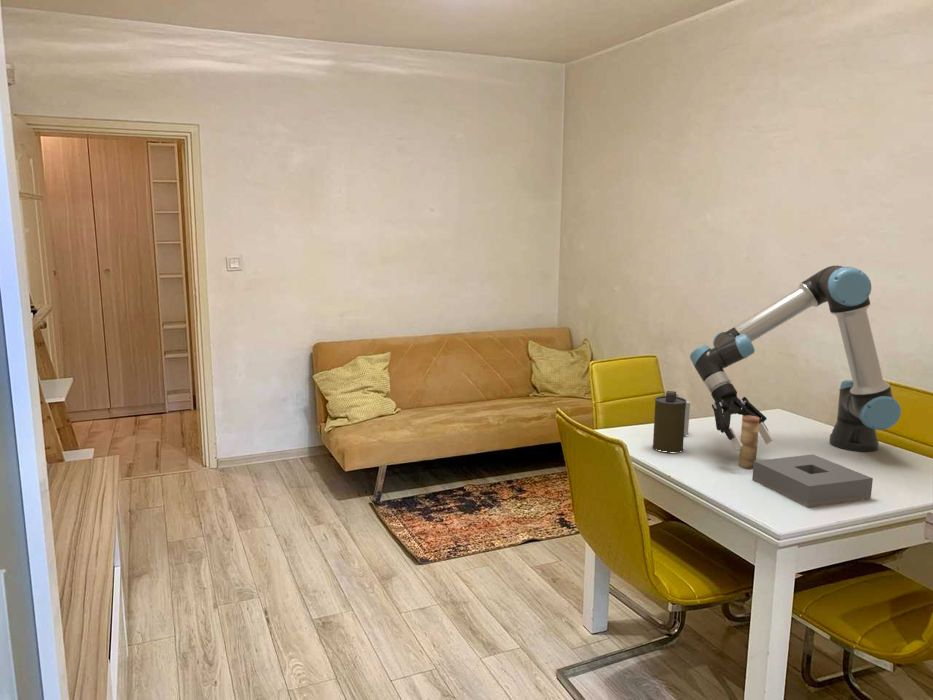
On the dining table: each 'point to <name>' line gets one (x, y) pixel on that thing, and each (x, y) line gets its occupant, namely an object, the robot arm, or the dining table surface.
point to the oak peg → (749, 441)
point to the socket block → (812, 480)
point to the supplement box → (686, 418)
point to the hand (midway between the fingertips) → (754, 444)
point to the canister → (669, 422)
